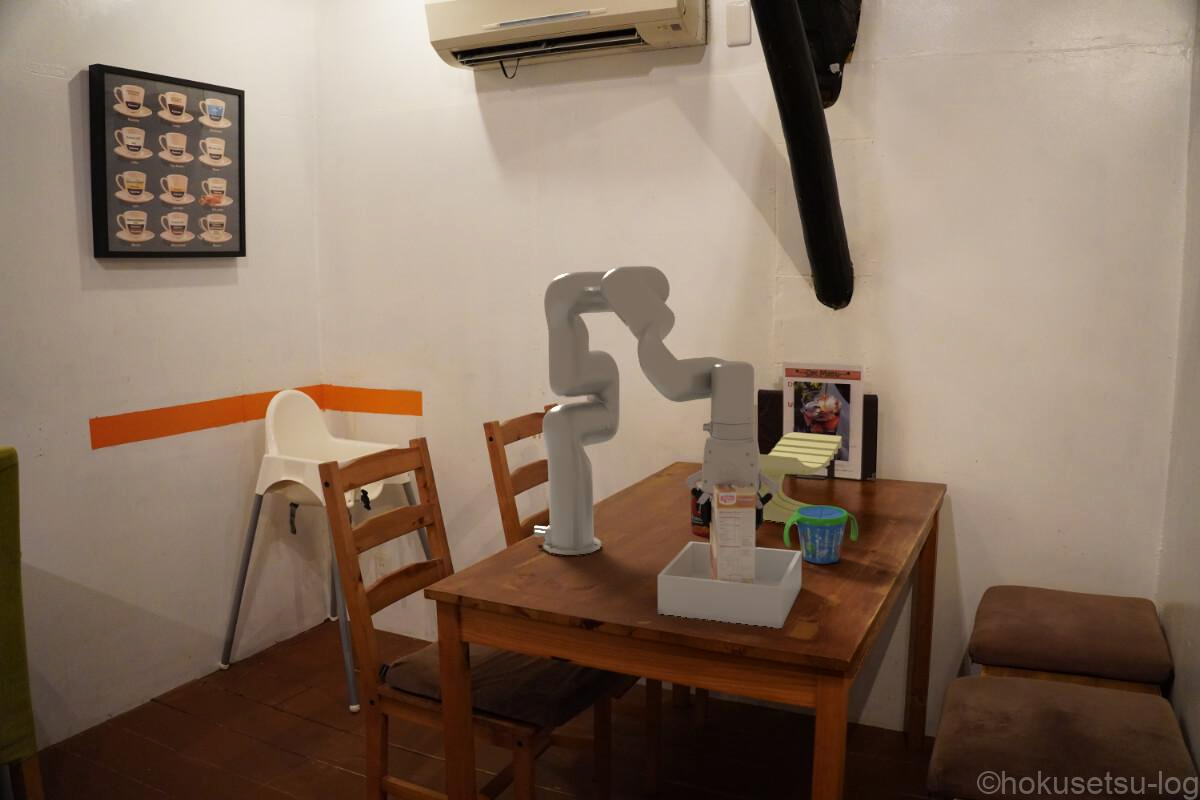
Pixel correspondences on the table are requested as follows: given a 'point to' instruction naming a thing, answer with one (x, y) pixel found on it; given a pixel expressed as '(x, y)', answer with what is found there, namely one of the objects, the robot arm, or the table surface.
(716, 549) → the coffeecake box
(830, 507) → the snack cup
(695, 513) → the canned food
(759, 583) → the bin
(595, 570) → the table surface
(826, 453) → the slatted curved stool
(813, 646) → the table surface
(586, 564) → the table surface
